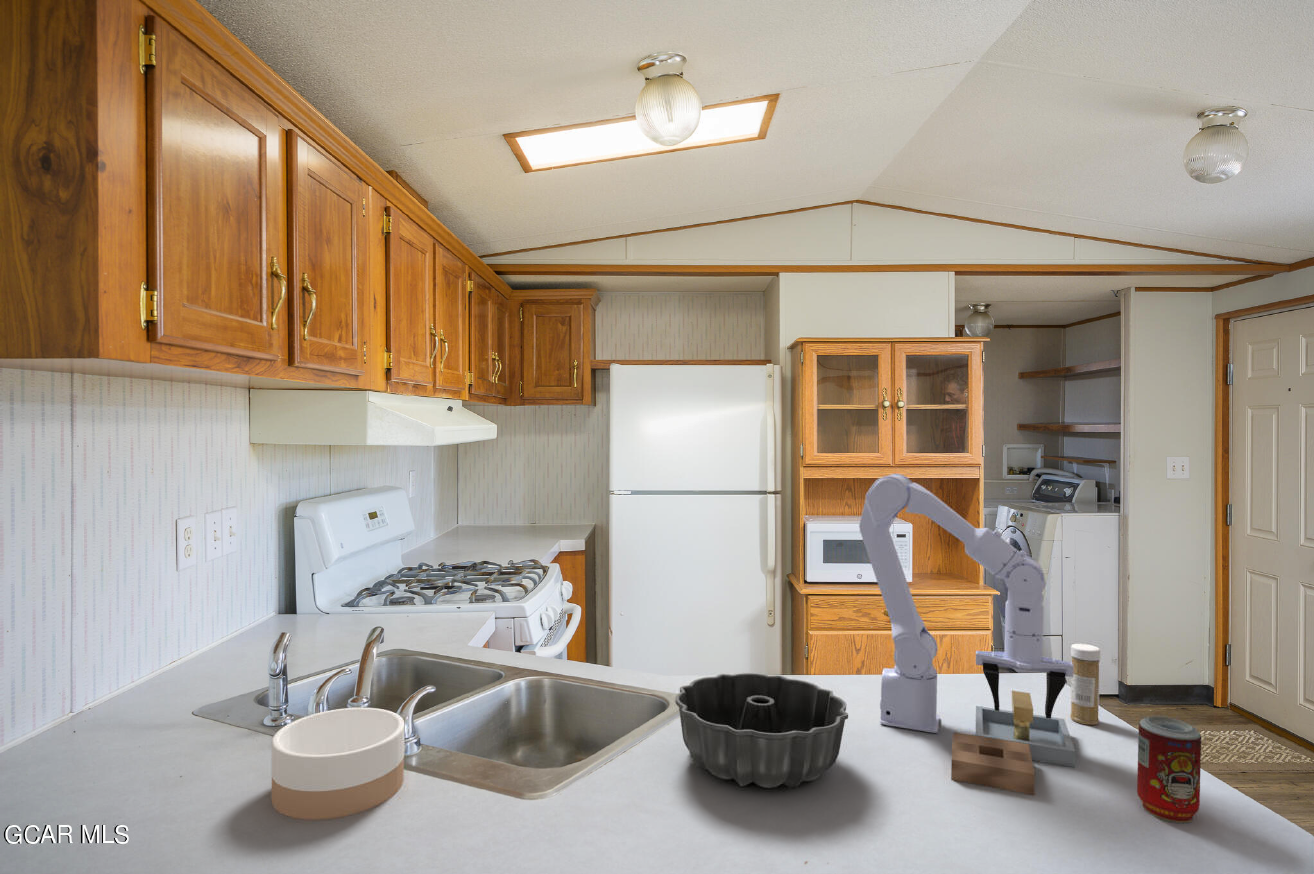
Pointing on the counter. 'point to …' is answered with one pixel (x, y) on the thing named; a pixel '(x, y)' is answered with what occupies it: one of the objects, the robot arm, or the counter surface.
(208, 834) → the counter surface
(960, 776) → the slot block
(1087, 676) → the sprinkles bottle
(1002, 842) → the counter surface
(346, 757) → the bowl
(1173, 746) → the soda can
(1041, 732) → the tray
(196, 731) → the counter surface
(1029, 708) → the t key
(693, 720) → the bundt pan
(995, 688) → the robot arm
